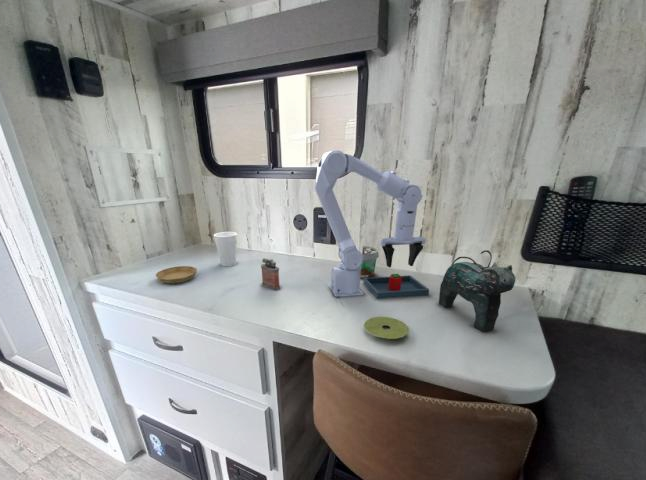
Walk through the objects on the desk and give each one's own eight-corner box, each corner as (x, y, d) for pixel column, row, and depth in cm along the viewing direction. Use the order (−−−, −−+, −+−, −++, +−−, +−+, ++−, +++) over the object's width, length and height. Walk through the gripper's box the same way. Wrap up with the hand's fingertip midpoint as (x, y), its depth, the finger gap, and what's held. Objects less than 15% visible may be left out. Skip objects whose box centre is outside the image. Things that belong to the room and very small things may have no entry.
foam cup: (222, 260, 138) (219, 231, 133) (242, 261, 137) (239, 231, 132) (214, 267, 130) (210, 236, 124) (235, 267, 129) (231, 237, 123)
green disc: (380, 349, 73) (381, 342, 72) (355, 327, 82) (355, 321, 82) (417, 338, 77) (418, 332, 76) (389, 319, 86) (390, 313, 86)
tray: (376, 299, 99) (377, 293, 98) (363, 284, 111) (363, 278, 110) (428, 295, 101) (429, 289, 100) (409, 281, 113) (410, 275, 112)
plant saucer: (165, 289, 108) (163, 282, 107) (151, 278, 118) (150, 271, 117) (204, 278, 117) (203, 272, 116) (188, 269, 127) (187, 263, 126)
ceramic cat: (502, 333, 79) (524, 258, 71) (481, 337, 78) (502, 261, 69) (448, 301, 97) (461, 239, 88) (431, 304, 95) (443, 240, 86)
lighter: (282, 288, 108) (280, 260, 104) (275, 290, 106) (273, 263, 102) (267, 282, 113) (265, 256, 109) (260, 285, 111) (258, 258, 107)
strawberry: (391, 291, 104) (392, 277, 101) (386, 287, 107) (388, 273, 105) (402, 290, 104) (404, 276, 102) (397, 286, 108) (399, 272, 106)
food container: (376, 281, 113) (379, 255, 109) (360, 280, 114) (361, 254, 110) (376, 270, 124) (378, 246, 119) (361, 269, 125) (362, 245, 121)
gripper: (387, 228, 92) (383, 271, 98) (433, 226, 94) (426, 268, 100) (379, 223, 98) (375, 264, 104) (421, 222, 100) (415, 261, 106)
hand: (399, 265), depth 102 cm, fingers open, 7 cm apart
